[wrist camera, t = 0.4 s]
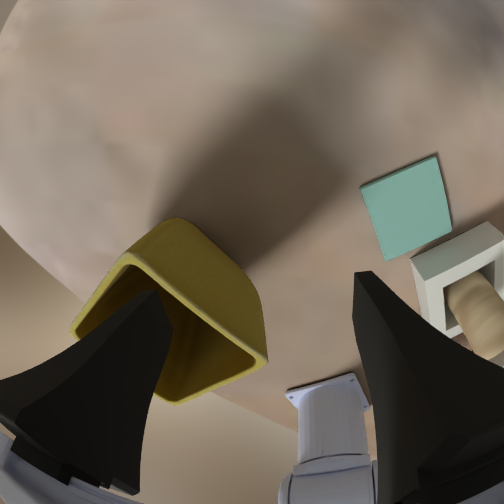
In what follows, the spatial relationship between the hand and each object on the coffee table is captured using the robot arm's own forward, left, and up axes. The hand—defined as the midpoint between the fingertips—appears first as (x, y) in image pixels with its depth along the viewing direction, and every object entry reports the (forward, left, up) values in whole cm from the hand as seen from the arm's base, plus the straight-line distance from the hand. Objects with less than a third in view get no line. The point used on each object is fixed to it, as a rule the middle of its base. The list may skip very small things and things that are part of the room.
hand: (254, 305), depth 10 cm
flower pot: (-2, +7, -10) cm, 13 cm away
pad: (-5, -9, -10) cm, 14 cm away
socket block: (-13, -12, -10) cm, 20 cm away
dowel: (-13, -12, -10) cm, 20 cm away
